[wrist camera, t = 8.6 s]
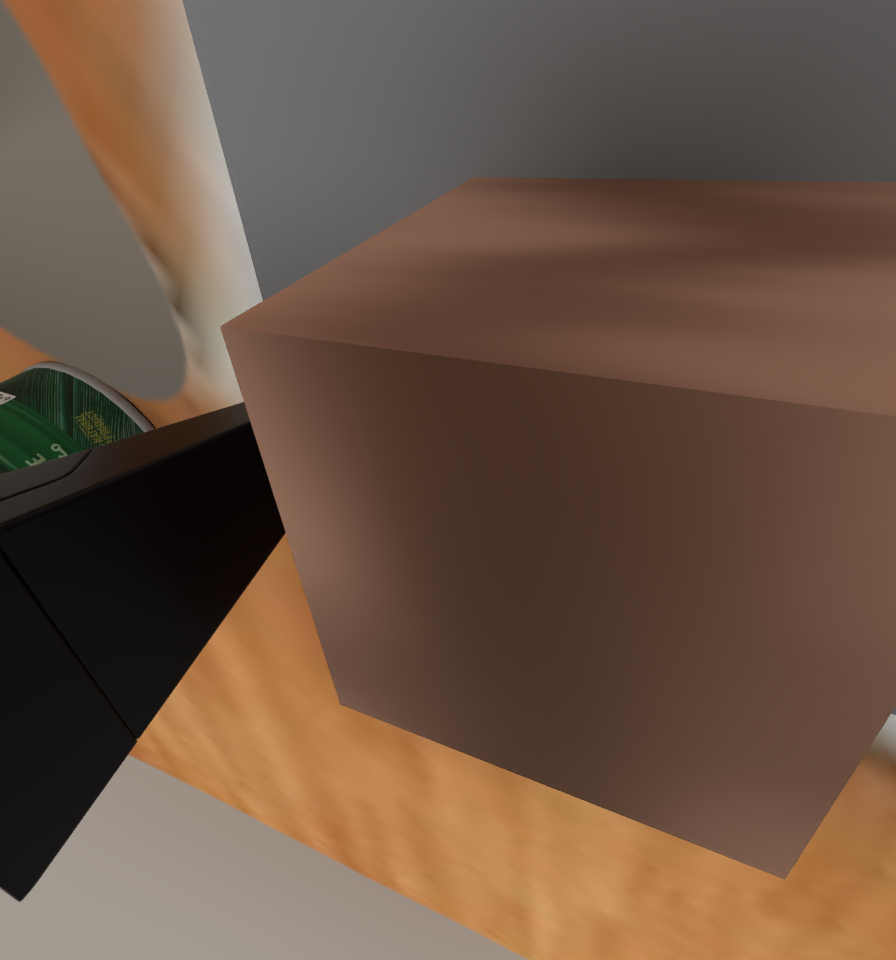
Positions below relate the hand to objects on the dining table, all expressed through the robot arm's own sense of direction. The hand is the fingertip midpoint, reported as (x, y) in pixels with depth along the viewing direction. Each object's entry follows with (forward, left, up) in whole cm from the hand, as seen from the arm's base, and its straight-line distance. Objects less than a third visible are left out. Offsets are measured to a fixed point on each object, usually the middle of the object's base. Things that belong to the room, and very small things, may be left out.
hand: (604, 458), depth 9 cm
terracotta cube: (0, 0, -3) cm, 3 cm away
